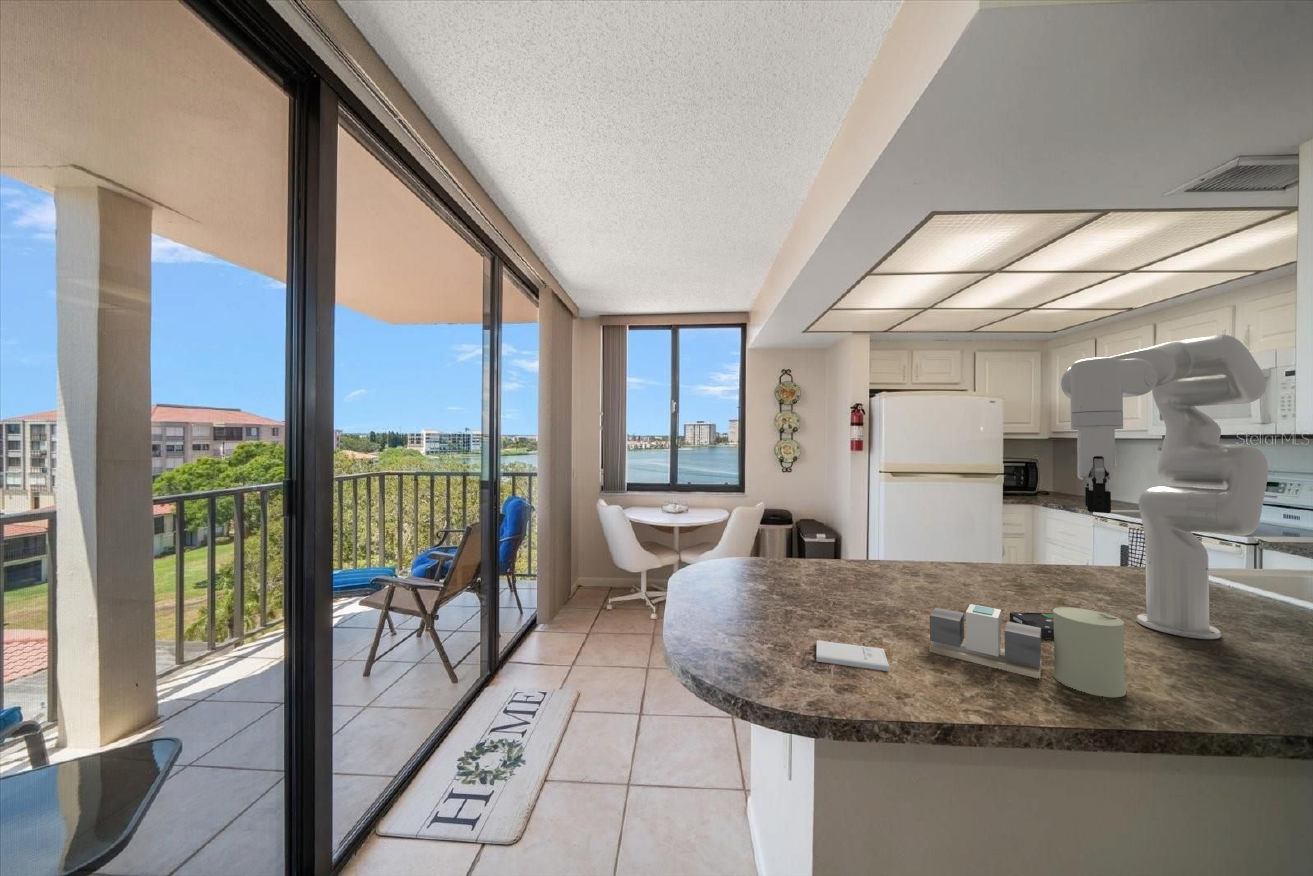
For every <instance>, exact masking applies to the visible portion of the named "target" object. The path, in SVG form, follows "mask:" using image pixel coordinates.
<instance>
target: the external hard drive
mask: <svg viewBox="0 0 1313 876" xmlns="http://www.w3.org/2000/svg"><path fill="white" fill-rule="evenodd" d="M815 649H816V656H815V657H816V658H815V659H816V660H815V661H816V662H821V663H825V664H826V663H827V664H833V665H840V666H847V667H856V668H862V669H868V668H869V669H870V670H877V671H885V672H890V664H889V662H888V661H889V660H888V658H887V656H886V653H885V649H884V648H881V647H880V648H879V647H871V646H865V645H864V646H863V645H857V644H856V645H855V644H849V643H841V642H835V641H833V642H832V641H826V640H825V641H824V640H816V647H815Z"/></svg>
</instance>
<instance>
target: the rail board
mask: <svg viewBox="0 0 1313 876" xmlns="http://www.w3.org/2000/svg"><path fill="white" fill-rule="evenodd" d="M1005 624H1006V625H1005V628H1004V648H1001V650H1000V653H999V656H993V655H989V654H985V653H981V652H976V651H972V650H968V649H966V639H965V612H961V611H955V610H950V609H946V608H940V607H935V608H934V609H933V610H932V612H931V613H930V614H929V641H931V643H930V645H929V653H934V654H937V655H942V656H946V657H948V658H953V659H958V660H961V661H966V662H971V663H973V664H978V665H981V666H985V667H989V668H994V669H997V668H998V670H1001V669H1002V671H1005V672H1006V671H1007V672H1010V673H1014V674H1018V675H1023V676H1026V677H1031V678H1034V679H1038V678H1039V680H1041V674H1042V673H1041V672H1042V639H1041V628H1039V627H1034V626H1029V625H1024V624H1018V623H1013V622H1010V621H1007V622H1006V623H1005Z"/></svg>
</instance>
